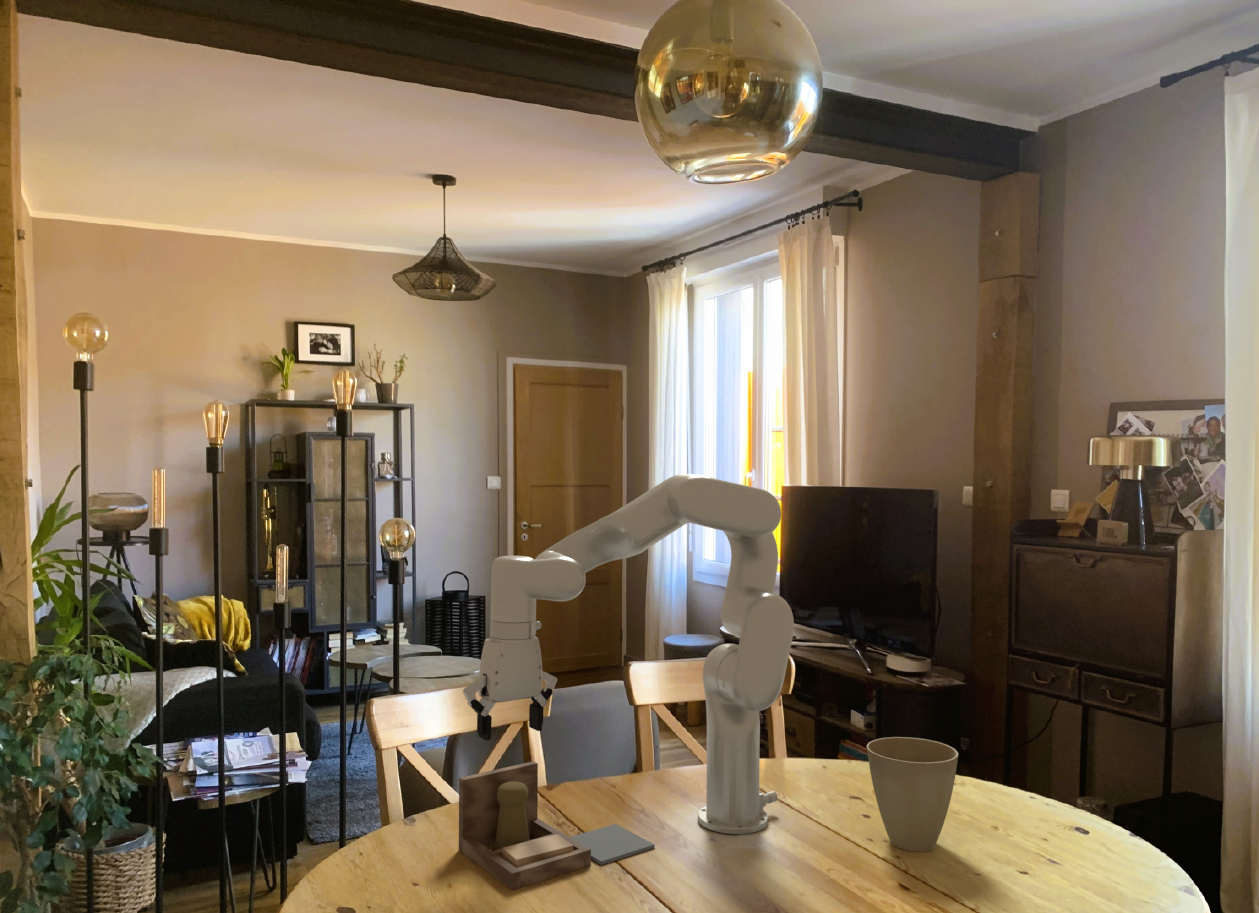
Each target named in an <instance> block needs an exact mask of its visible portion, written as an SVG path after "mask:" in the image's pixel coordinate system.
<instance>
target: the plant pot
mask: <svg viewBox="0 0 1259 913" xmlns="http://www.w3.org/2000/svg"><path fill="white" fill-rule="evenodd" d="M866 751H867V758H868V765H869V766H868V767H869V772H870V777H871V780H872V781H871V782H872V786H873V791H874V796H875V799H876V802H877V806H878V810H879V814H880V816H881V819H882V822H883V823H882V824H883V825H884V828H885V832H886V834H887V836H888V839H889V842H890V843H891V845H893V846H894V847H895V848H898V849H901V850H905V851H909V852H910V851H911V852H921V853H922V852H928V851H931V850H933V849H934V848H935V847H936V844H937V842H938V840H939V837H940V836H941V832H942V829H943V827H944V824H945V820H946V818H947V815H948V811H949V807H950V803H951V799H952V795H953V792H954V786H955V780H956V774H957V767H958V761H959V759H958V758H959V752H958V751H957V750H956V748H954V747H952V746H950V745H948V744H947V743H946V744H945V743H944V742H940V741H936V740H931V739H926V738H919V737H907V736H905V737H903V736H891V737H889V736H888V737H881V738H877V739H874V740H871V741H869V742H868V743H867V744H866Z"/></svg>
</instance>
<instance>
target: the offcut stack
mask: <svg viewBox="0 0 1259 913" xmlns="http://www.w3.org/2000/svg"><path fill="white" fill-rule="evenodd" d="M535 839H536V838H535ZM531 840H532V841H528V842H524V843H520V844H515V845H511V846H507V847H503V848H502V858H503V859H504V860H505V861H507V862H508V863H510V864H511V865H513V866H514V867H516V868H519V867H522V866H525V865H529V864H532V863H535V862H538V861H542V860H545V859H548V858H552V857H555V856H558V855H562V854H565V853H568V852H572V851H573V845H572V844H571V843H569V842H568V841H566V840H565V839H564V838H562V837H561V836H560V835H558V834H557V835H553V836H549V837H545V838H540V839H536V840H533V839H531Z"/></svg>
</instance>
